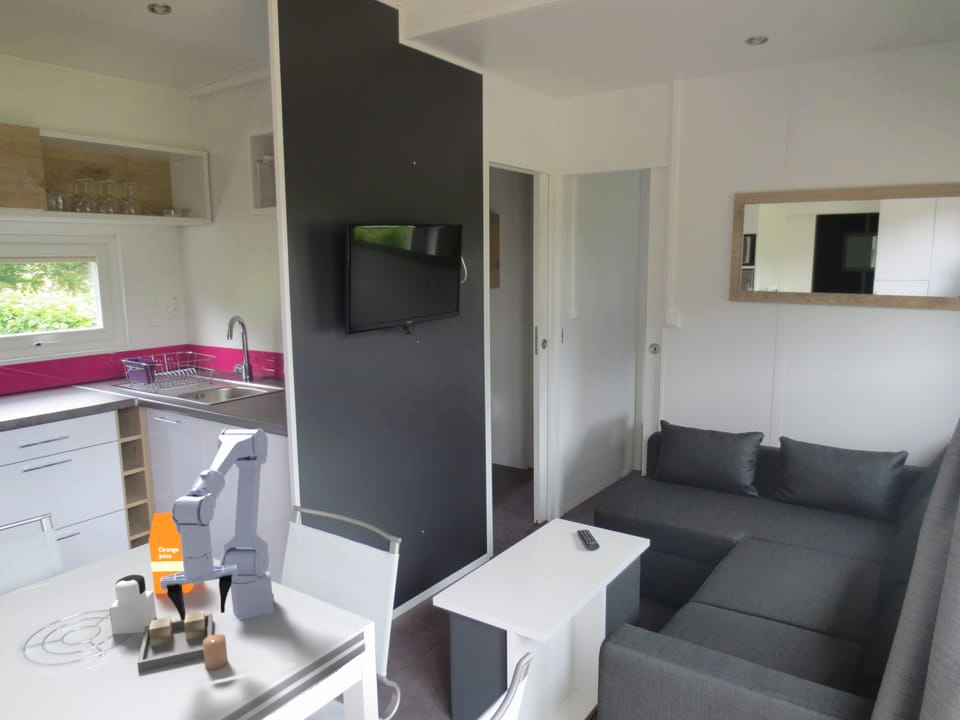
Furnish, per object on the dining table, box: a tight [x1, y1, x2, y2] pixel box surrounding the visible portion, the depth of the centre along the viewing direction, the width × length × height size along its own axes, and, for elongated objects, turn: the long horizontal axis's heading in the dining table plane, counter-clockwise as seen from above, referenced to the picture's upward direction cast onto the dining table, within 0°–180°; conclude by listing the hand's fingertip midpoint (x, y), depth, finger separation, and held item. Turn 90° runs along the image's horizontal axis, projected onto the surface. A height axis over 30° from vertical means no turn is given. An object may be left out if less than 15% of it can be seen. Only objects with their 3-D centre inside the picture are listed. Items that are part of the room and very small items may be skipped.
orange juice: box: [148, 512, 195, 594], centre depth 175 cm, size 8×9×20 cm
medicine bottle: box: [109, 574, 157, 635], centre depth 156 cm, size 7×7×12 cm
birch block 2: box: [184, 610, 206, 639], centre depth 153 cm, size 4×4×4 cm
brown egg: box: [203, 633, 229, 672], centre depth 141 cm, size 4×4×6 cm
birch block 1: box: [149, 616, 173, 647], centre depth 150 cm, size 4×4×4 cm
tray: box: [137, 613, 214, 672], centre depth 148 cm, size 14×15×2 cm
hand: (203, 614), depth 142 cm, fingers open, 7 cm apart
